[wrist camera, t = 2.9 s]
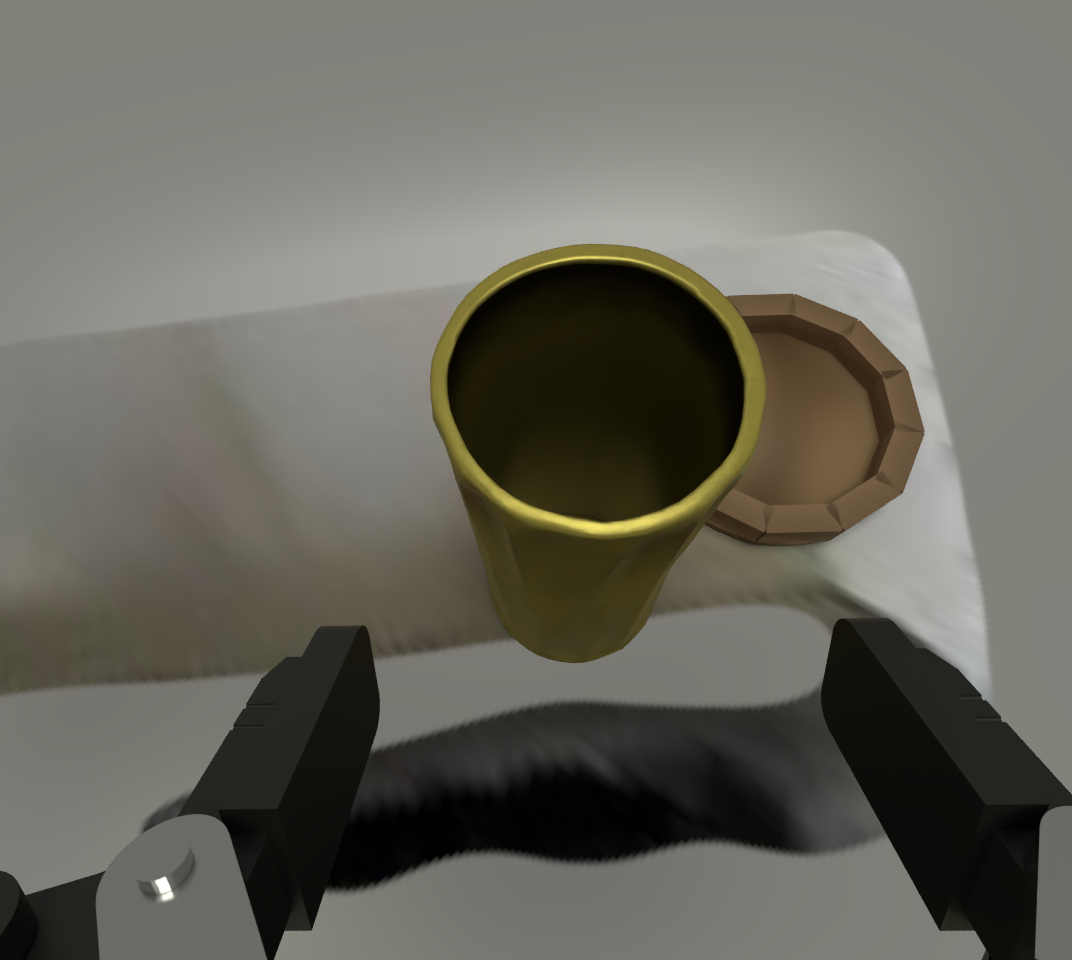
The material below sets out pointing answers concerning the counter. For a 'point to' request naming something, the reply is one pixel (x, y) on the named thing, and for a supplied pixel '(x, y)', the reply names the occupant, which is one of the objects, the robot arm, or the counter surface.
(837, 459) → the round tray
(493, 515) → the vase
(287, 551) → the counter surface
